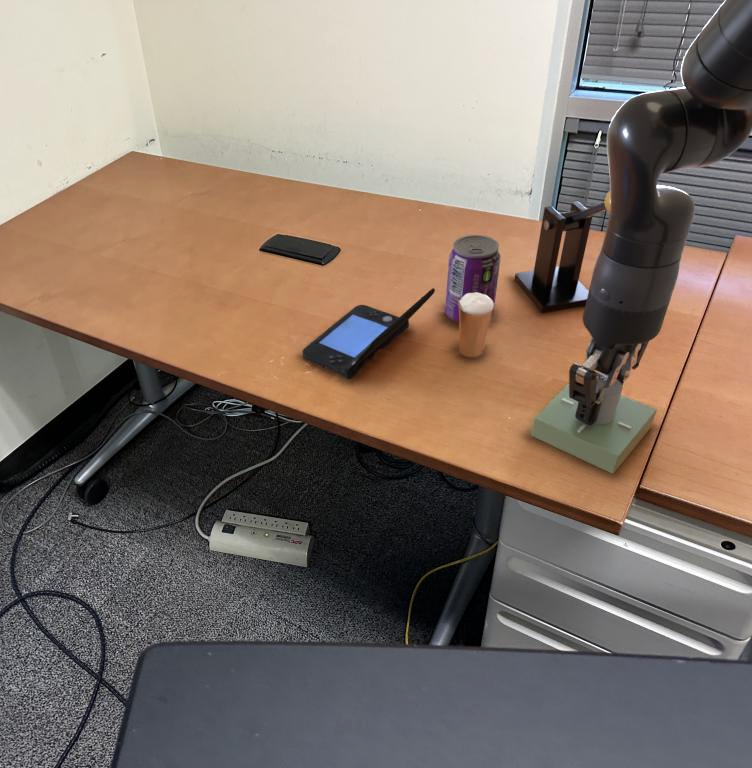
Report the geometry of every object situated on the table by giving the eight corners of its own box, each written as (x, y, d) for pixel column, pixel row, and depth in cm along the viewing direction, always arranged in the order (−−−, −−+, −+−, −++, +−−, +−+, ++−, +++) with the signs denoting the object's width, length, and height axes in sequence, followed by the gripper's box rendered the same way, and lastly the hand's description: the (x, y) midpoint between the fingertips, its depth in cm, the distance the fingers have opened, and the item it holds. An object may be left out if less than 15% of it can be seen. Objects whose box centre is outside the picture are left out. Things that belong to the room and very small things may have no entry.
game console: (359, 309, 110) (359, 260, 104) (435, 337, 102) (439, 285, 96) (298, 359, 102) (293, 308, 96) (374, 393, 94) (375, 340, 88)
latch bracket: (593, 304, 103) (614, 221, 95) (541, 313, 103) (557, 230, 94) (562, 271, 111) (578, 191, 102) (514, 279, 111) (526, 200, 102)
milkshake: (443, 348, 100) (447, 290, 93) (475, 338, 101) (482, 279, 94) (460, 365, 96) (466, 306, 90) (494, 355, 97) (502, 295, 91)
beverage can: (495, 327, 102) (505, 257, 94) (445, 328, 103) (451, 258, 96) (490, 301, 107) (499, 232, 100) (443, 302, 109) (448, 233, 101)
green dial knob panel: (650, 427, 83) (657, 408, 81) (612, 474, 78) (619, 455, 76) (570, 394, 89) (574, 375, 87) (530, 435, 85) (534, 417, 83)
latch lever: (645, 209, 84) (641, 179, 84) (616, 214, 84) (612, 184, 84) (575, 233, 101) (571, 209, 101) (551, 237, 101) (547, 213, 101)
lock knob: (620, 412, 81) (630, 381, 78) (602, 429, 80) (611, 398, 77) (588, 397, 84) (596, 367, 81) (570, 414, 82) (577, 383, 79)
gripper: (629, 333, 65) (592, 458, 76) (702, 273, 71) (658, 396, 82) (557, 304, 70) (532, 426, 81) (631, 250, 76) (598, 370, 87)
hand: (596, 410), depth 82 cm, fingers closed on lock knob, 4 cm apart
